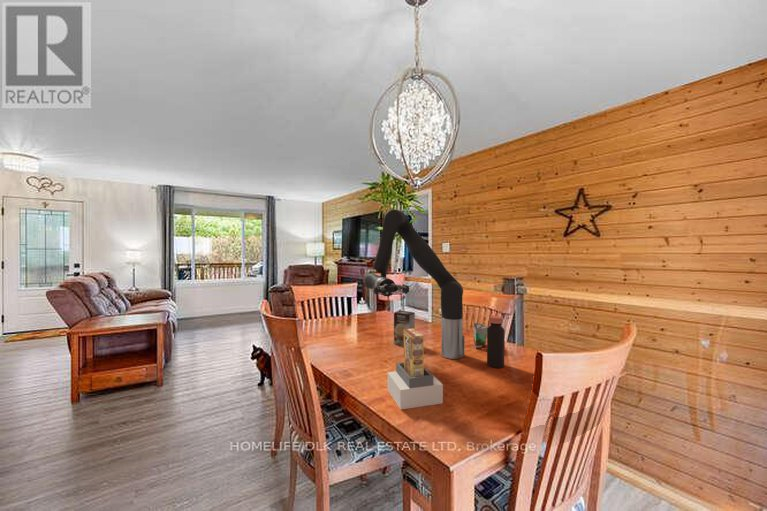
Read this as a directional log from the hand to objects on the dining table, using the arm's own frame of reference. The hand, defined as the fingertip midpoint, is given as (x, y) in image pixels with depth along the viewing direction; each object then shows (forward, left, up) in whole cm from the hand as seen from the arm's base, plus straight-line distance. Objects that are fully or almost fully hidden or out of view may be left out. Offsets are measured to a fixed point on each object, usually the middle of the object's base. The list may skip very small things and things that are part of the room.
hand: (396, 291), depth 123 cm
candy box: (0, +19, -26) cm, 32 cm away
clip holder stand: (0, +19, -32) cm, 37 cm away
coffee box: (-15, -34, -32) cm, 49 cm away
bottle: (-42, +3, -32) cm, 53 cm away
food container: (-50, -20, -32) cm, 63 cm away
